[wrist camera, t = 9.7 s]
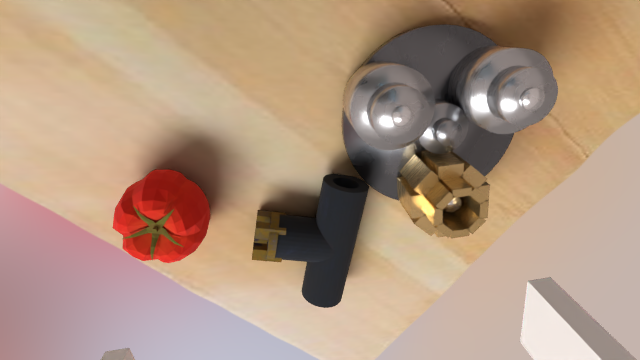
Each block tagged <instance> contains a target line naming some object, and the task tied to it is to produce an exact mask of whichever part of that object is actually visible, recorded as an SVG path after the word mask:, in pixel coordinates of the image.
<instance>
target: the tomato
mask: <svg viewBox="0 0 640 360" xmlns="http://www.w3.org/2000/svg"><path fill="white" fill-rule="evenodd" d="M209 220H210V209H209V203H208V200H207V198H206V196H205V194H204V193H203V191H202V190H201V189H200V187H199V186H198V185H197V184H196V183H194V182H192V181H190V180H188V179H187V178H186V177H185V176H184V175H183V174H181V173H180V172H177V171H174V170H153V171H152V172H150V173H149V174H148V175H147V176H146V177H145V178H144V179H142V180H140V181H138V182H136V183H134V184H133V185H131V186H130V187H128V188H127V190H126V191H125V193H124V194H123V196H122V198H121V199H120V201H119V203H118V205H117V206H116V208H115V213H114V221H113V228H114V229H115V230H116V231H118V232H119V233H121V234H122V235H123V249H124V250H125V251H127V252H128V253H129V254H130V255H132V256H133V257H135V258H138V259H140V260H142V261H146V260H154V259H159V260H160V261H162V262H166V263H171V262H175V261H180V260H181V259H183V258H185V257H186V256H188V255H189V254H191V253H192V252H194V251H195V250H196V249H197V248H198V246H199V245H200V243H201V242H202V240H203V239H204V237H205V236H206V234H207V229H208V225H209Z"/></svg>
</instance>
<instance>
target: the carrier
mask: <svg viewBox="0 0 640 360" xmlns="http://www.w3.org/2000/svg"><path fill="white" fill-rule="evenodd" d="M557 94H558V86H557V82H556V80H555V78H554V76H553V71H552V68H551V66H550V64H549V62H548V61H547V60H546V58H545V57H544V56H543V55H541V54H540V53H538V52H536V51H534V50H531V49H525V48H513V47H501V46H497V45H496V44H495V43H494V42H493V41H492V40H491V39H489V38H487V37H486V36H484V35H483V34H481V33H479V32H477V31H474V30H472V29H469V28H465V27H461V26H456V25H428V26H423V27H418V28H414V29H412V30H409V31H406V32H403V33H401V34H399V35H397V36H395V37H393V38H392V39H390V40H389V41H387V42H386V43H384V44H383V45H381V46H380V47H379V48H378V49H377V50H376V51H375V52H373V53H372V54H371V55H370V57H369V58H368V59H367V60H366V61H365V62H364V63H363V65H362V66H361V67H360V69H358V70H357V71H356V72H355V73H354V74H353V75H352V76H351V78H350V79H349V81H348V83H347V85H346V87H345V90H344V95H343V113H342V134H343V140H344V144H345V148H346V151H347V154H348V156H349V158H350V160H351V162H352V164H353V166H354V168H355V169H356V171H357V172H358V174H359V175H360V176H361V177H362V178H363V179H364V181H365V182H366V183H368V184H369V185H370V186H371V187H372V188H374V189H375V190H377V191H378V192H380V193H382V194H383V195H386V196H388V197H390V198H393V199H396V200H399V199H398V194H397V177H403V175H402V174H401V173H400V172H399V171H400V170H401V169H402V168H403V166H404V165H405V164H406V163H407V162H408V161H409V160H410V159H411V158H412V156H413V155H414V154H415V155H416V156H418V157H419V158H420V159H421V151H422V150H428V151H430V152H432V153H436V154H444V153H448V152H450V151H453V152H454V153H455V154H457V155H458V156H459V157H461V158H462V159H463V160H465V161H466V162H467V163H469V164H470V165H471V166H473V167H474V168H475V169H476V170H477V171H478V172H480V173H481V174H482V175H483V176H484V177H485V176H486V175H487V174H488V173H489V172H490V171H491V170H492V169H493V167H494V166H495V165H496V164H497V163H498V162H499V160H500V159H501V157H502V156H503V155H504V153H505V151H506V149H507V148H508V146H509V144H510V142H511V140H512V137H513V135H514V133H515V132H518V131H520V130H522V129H524V128H526V127H528V126H529V125H532V124H535V123H537V122H539V121H540V120H542V119H543V118H544V117H545V116H547V114H548V113H549V112H550V111H551V109H552V108H553V106H554V104H555V102H556V99H557ZM460 206H461V199H460V198H459V197H456V198H453V199H452V200H451V201H450V203H449V204H448V205H447V206H446V207H445V208H444V209H445V210H446V211H448V212H454V211H456V210H458V209H459V208H460Z"/></svg>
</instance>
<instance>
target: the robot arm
mask: <svg viewBox="0 0 640 360" xmlns="http://www.w3.org/2000/svg"><path fill="white" fill-rule="evenodd" d="M520 342H521V343H522V345H523V346H524V347H525V349H526V350H527V352H528V353H529V354H530V356H531V357H532V358H533V359H534V360H636V359H635V358H634V357H633V356H632V355H631V354H630V353H629V352H628V351H627V350H626V349H625V348H624V347H623V346H622V345H621V344H620V343H619V342H617V341H616V340H615V339H614V338H613V337H612V336H611V335H610V334H609V333H608V332H607V331H606V330H605V329H604V328H603V327H602V326H601V325H600V324H599V323H598V322H597V321H596V320H595V319H593V318H592V317H591V316H590V315H589V314H588V313H587V312H586V311H585V310H584V309H583V308H582V307H581V306H580V305H579V304H578V303H577V302H576V301H574V299H573V298H572V297H571V296H569V295H568V294H567V293H566V292H565V291H564V290H563V289H562V288H561V287H560V286H559V285H558V284H557V283H556V282H555V281H554V280H553V279H552V278H551V277H549V278H543V279H536V280H531V281H528V282H527V291H526V298H525V306H524V315H523V323H522V331H521V339H520ZM101 360H135V359H134V357H133V355H132V353H131V351H130V349H129V348H125V349H119V350H113V351H107V352H105V353H104V355H103V357H102V359H101Z"/></svg>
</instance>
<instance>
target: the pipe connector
mask: <svg viewBox="0 0 640 360" xmlns="http://www.w3.org/2000/svg"><path fill="white" fill-rule="evenodd" d="M368 189H369V186H368V185H367V183H365V182H364V181H362V180H361V179H359V178H356V177H353V176H346V175H338V174H329V175H326V176H325V177H324V178H323V183H322V188H321V194H320V199H319V204H318V209H317V214H316V218H310V217H301V216H291V215H286V213H282V212H272V211H263V210H258V213H257V221H256V230H255V237H254V246H253V254H252V260H261V261H273V262H281V261H282V259H283V260H294V261H306V262H307V266H306V271H305V276H304V281H303V286H302V295H303V297H304V298H305V299H306V300H307V301H308V302H309V303H311V304H313V305H315V306H318V307H324V308H328V307H333V306H335V305H337V304H338V303H339V302H340V301H341V298H342V294H343V290H344V286H345V282H346V278H347V274H348V270H349V266H350V262H351V258H352V254H353V249H354V245H355V241H356V237H357V233H358V229H359V225H360V221H361V217H362V213H363V209H364V205H365V201H366V197H367V193H368Z"/></svg>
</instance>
